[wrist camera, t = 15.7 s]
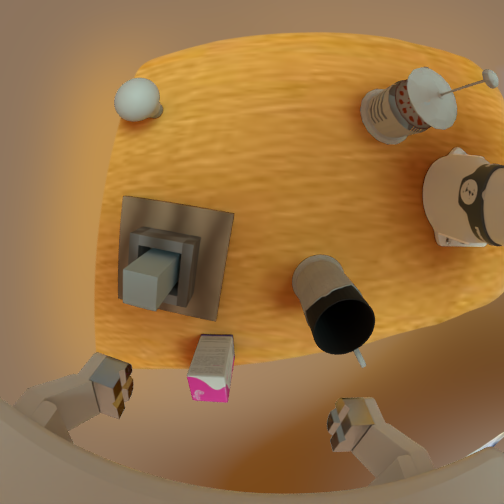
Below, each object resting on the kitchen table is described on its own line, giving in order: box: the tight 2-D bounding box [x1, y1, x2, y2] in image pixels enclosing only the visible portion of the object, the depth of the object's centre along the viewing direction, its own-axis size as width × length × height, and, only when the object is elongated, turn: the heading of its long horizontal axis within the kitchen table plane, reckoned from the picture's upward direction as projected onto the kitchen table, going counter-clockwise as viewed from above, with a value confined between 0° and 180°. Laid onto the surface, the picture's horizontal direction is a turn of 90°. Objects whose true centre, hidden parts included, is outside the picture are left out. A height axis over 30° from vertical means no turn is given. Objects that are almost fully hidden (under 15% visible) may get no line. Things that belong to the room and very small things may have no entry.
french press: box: [360, 67, 498, 144], centre depth 23 cm, size 10×12×25 cm
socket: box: [118, 196, 234, 321], centre depth 40 cm, size 18×18×6 cm
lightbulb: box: [114, 78, 163, 122], centre depth 31 cm, size 6×6×11 cm
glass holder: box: [292, 255, 375, 368], centre depth 36 cm, size 9×14×15 cm, turn 31°
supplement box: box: [187, 334, 235, 402], centre depth 41 cm, size 6×6×12 cm
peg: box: [123, 248, 182, 311], centre depth 36 cm, size 4×4×12 cm
